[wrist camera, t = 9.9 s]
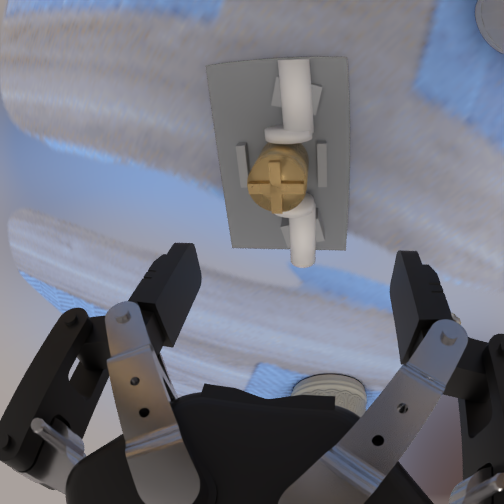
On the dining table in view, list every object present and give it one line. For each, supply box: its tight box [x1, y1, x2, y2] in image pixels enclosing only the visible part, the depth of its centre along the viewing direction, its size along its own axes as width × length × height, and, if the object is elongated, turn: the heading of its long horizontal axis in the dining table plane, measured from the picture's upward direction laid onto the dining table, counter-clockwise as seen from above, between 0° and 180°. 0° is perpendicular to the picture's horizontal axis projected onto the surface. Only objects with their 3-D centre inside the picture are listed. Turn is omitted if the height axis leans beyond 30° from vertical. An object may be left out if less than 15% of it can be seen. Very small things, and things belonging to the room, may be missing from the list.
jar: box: [291, 374, 367, 417], centre depth 42 cm, size 13×13×18 cm
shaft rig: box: [206, 57, 350, 268], centre depth 27 cm, size 19×12×5 cm, turn 6°
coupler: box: [247, 142, 309, 214], centre depth 25 cm, size 4×4×7 cm
